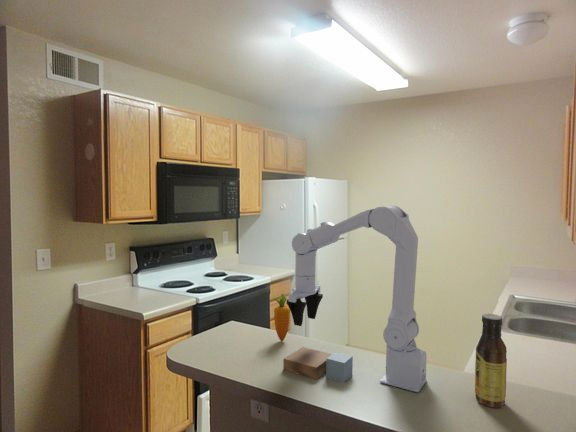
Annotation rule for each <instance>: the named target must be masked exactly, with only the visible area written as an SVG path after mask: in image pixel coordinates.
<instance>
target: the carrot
mask: <svg viewBox="0 0 576 432" xmlns="http://www.w3.org/2000/svg"><path fill="white" fill-rule="evenodd" d="M280 296H281V297H279V299H278V298H277V297H275V298H274V301H276V302H277V303H278V305H277V306H276V307H275V308H274V310H273V312H274V327H275V331H276V334H277V338H278V339H279V340H280V341H281V342H284V340H285V338H286V337H287V334H288V331H289V325H290V315H291V311H290V308H289V306H288V305H286V304H285V303H286V302H287V296H285V294H284V293H281V294H280Z"/></svg>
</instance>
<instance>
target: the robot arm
mask: <svg viewBox="0 0 576 432" xmlns="http://www.w3.org/2000/svg"><path fill="white" fill-rule="evenodd" d="M363 227H364V228H367V229H369V228H370V229H371V228H372V229H373V230H374V231H376V232H377V233H380V234H381V235H384V236H386V237H387V238H388V239H389V240H390V241H391V242H392V243H393V244H394V245H395V252H394V253H395V255H394V272H393V285H392V302H391V310H390V312H389V315H388V318H387V324H386V327H384V329H383V335H382V336H383V337H382V338H383V341H384V342H385V344H386V349H385V350H386V351H385V356H386V357H385V374H384V375H383V376H382V378H381V379H380V380H379V382H380V383H381V384H386V385H387V386H388V385H389V386H391V387H395V388H400V389H404V390H407V391H411V392H414V393H419V392H420V391H421V390H422V388H423V386H424V385H425V383H426V382H427V380H428V379H427V352H426V351H425V350H423V349H421V348H419V347H417V343H416V340H415V338H417V336H418V335H419V333H420V328H419V324H418V322H417V313H416V310H415V309H414V305H415V294H416V293H415V292H416V291H415V288H416V278H417V276H416V275H417V263H418V262H417V261H418V259H417V258H418V245H419V236H418V235H417V233H416V230H415V228H414V226H413V225H412V223H411V221H410V217H409V214H408V213H406V211H404V210H403V209H402V208H401V207H399V206H397V205H389V206H382V205H381V206H377V207H375V208H370V209H366V210H364V211H361V212H359V213H357V214H355V215H352V216H350V217H349V218H346V219H344V220H342V221H340V222H338V223H335V224H334V222H330V221H329V222H327V221H322V222H320V225H319V226H317V227H315V228H308V229H306V233H305V232H303V233H302V232H300V233H299V232H298V233H297V234H295V235H294V237H293V238H292V240H291V247H292V250H293V251H294V252H295V274H294V275H295V277H294V279H295V282H294V283H295V285H294V288H292V289H291V293H290V294H288V299H286V306H287V307H289V308H290V314H291V317H292V320H293V324H294V326H299V327H302V325H303V321H304V320H303V319H304V312H305V308H306V314H307V318H308V319H312V320H315V319H316V317H317V313H318V309H319V305H320V304H321V302H322V299H323V297H324V296H323V295H324V294H322V293H321V285H318V284H317V285H316V258H317V257H316V256H317V251H318V250H319V249H322V248H324V247H327V246H329V245H330V246H331V245H332V244H334V243H337V242H338V241H339V239H340V236H341V235H344V234H346V233H350V232H352V231H355V230H357V229H361V228H363ZM301 299H304V300H305V301H303V300H301Z"/></svg>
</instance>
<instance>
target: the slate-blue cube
mask: <svg viewBox="0 0 576 432" xmlns="http://www.w3.org/2000/svg"><path fill="white" fill-rule="evenodd" d="M331 354H332V355H331V356H329V357H328V358H326V372H325V377H326V378H327V379H331V380H334V381H337V382H342V383H346V381H348V379H350V377H352V376H353V357H354V356H353V355H348V354H345V353H340V352H336V351H335V352H333V353H331Z"/></svg>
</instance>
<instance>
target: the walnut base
mask: <svg viewBox="0 0 576 432" xmlns="http://www.w3.org/2000/svg"><path fill="white" fill-rule="evenodd" d="M332 354H333V353H328V352H325V351H321V350H317V349H313V348H309V347H304V346H302V347H300V348H299V349H297V350H296V351H294V352H292V353H290V354H288V355H287V356H286V357H284V358H283V371H285V372H291V373H293V374H296V375H301V376H303V377H308V378H310V379H315V380H318V379H319V378H321V376H323V375H324V374H326V358H328V357H329V356H331V355H332Z"/></svg>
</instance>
